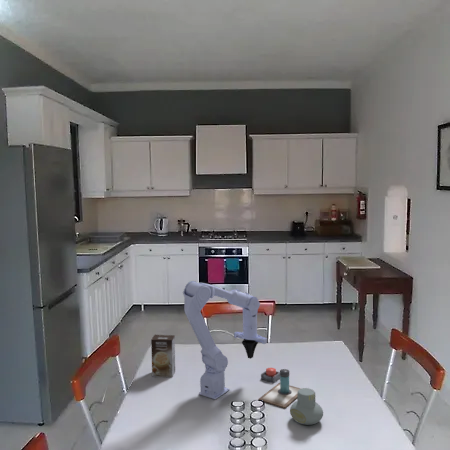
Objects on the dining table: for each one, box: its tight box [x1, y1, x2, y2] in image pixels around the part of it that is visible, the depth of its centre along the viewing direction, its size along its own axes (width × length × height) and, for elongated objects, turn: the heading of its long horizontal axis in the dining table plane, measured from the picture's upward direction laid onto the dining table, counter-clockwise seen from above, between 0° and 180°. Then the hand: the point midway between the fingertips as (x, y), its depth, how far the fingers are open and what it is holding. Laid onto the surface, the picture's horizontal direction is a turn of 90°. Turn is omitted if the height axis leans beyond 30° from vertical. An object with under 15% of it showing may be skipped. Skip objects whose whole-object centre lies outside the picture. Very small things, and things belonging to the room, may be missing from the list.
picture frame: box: [258, 382, 302, 409], centre depth 165 cm, size 16×11×1 cm
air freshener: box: [289, 387, 324, 426], centre depth 147 cm, size 11×8×10 cm
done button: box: [265, 367, 277, 377], centre depth 180 cm, size 4×4×3 cm
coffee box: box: [150, 334, 176, 378], centre depth 185 cm, size 9×6×16 cm
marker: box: [279, 368, 290, 394], centre depth 166 cm, size 4×4×8 cm
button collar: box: [260, 370, 280, 383], centre depth 180 cm, size 6×6×2 cm
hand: (250, 357), depth 178 cm, fingers closed
